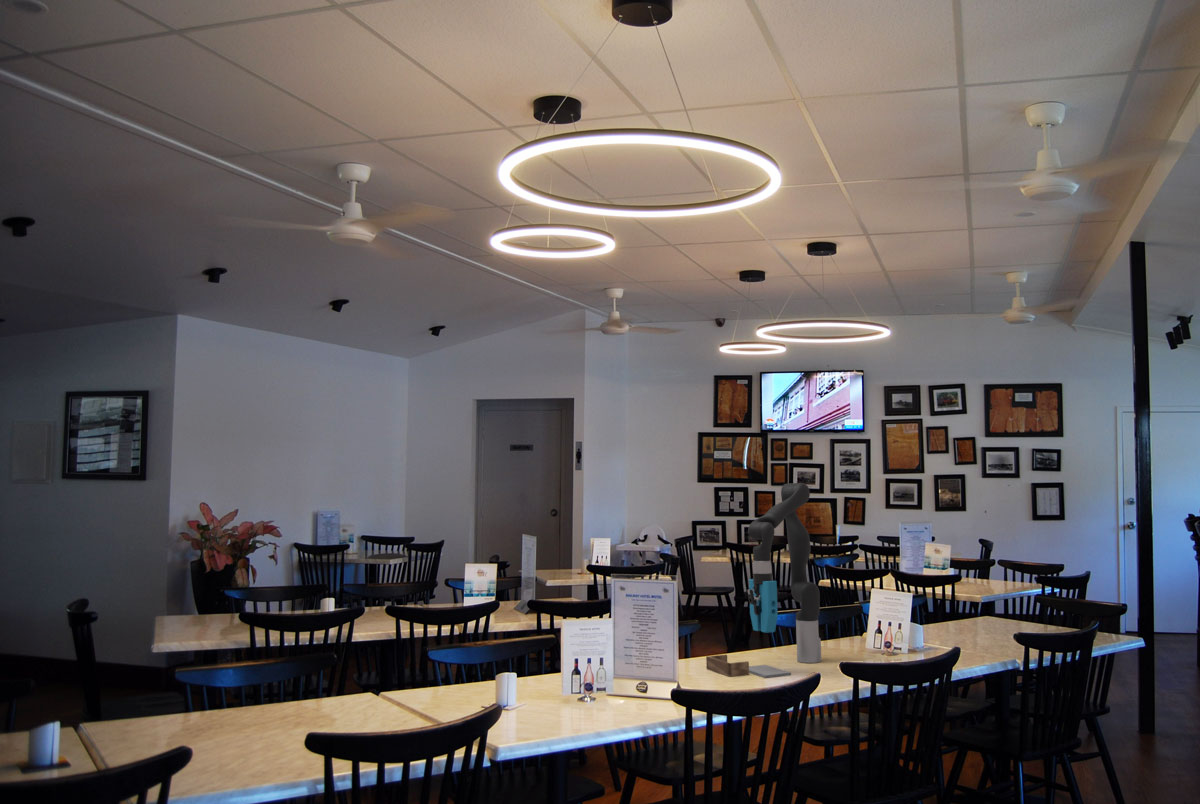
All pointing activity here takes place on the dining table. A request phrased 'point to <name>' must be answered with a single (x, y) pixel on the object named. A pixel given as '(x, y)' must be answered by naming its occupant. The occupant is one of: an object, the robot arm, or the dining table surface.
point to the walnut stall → (726, 666)
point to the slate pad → (767, 671)
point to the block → (765, 607)
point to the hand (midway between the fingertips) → (763, 614)
